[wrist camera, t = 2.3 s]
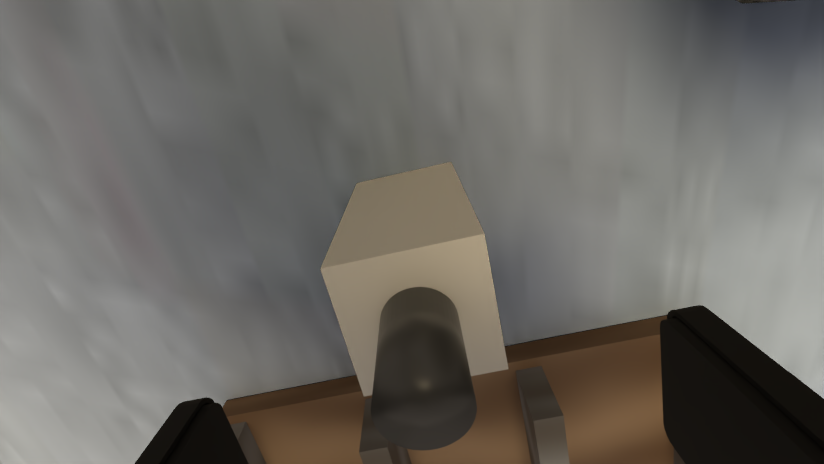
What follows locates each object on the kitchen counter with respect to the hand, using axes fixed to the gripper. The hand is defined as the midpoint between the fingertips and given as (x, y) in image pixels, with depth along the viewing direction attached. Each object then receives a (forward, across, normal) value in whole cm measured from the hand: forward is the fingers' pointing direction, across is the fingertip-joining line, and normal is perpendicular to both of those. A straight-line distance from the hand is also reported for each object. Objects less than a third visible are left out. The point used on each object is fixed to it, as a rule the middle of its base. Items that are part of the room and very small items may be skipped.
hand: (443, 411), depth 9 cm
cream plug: (+10, 0, -1) cm, 10 cm away
